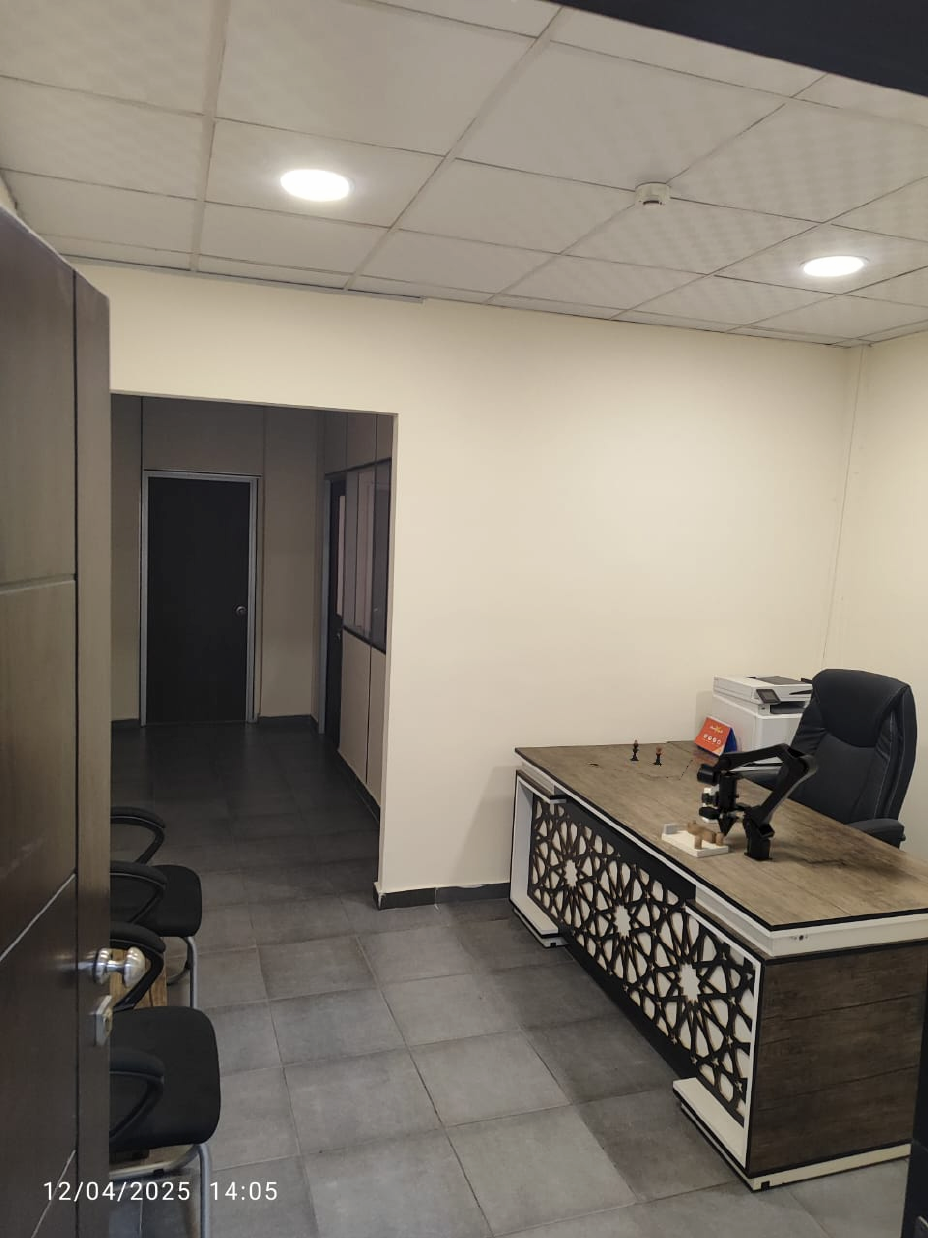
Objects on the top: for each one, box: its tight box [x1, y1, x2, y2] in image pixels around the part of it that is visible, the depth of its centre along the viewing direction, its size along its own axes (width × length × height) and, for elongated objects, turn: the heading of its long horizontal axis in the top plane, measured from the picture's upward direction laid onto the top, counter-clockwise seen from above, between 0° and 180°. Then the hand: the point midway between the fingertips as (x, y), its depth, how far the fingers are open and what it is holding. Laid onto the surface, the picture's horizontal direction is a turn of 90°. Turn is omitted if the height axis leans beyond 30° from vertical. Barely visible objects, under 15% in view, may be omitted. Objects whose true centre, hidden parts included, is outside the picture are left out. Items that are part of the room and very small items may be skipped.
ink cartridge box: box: [701, 784, 719, 824], centre depth 306 cm, size 9×5×15 cm, turn 101°
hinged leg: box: [686, 819, 717, 843], centre depth 282 cm, size 12×2×4 cm, turn 27°
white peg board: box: [661, 822, 729, 858], centre depth 280 cm, size 17×13×6 cm
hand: (723, 836), depth 282 cm, fingers closed
